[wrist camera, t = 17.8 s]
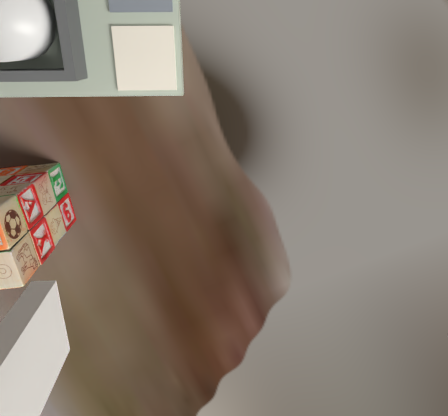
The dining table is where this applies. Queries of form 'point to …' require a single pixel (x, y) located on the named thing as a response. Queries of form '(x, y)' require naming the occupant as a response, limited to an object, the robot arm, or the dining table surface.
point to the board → (104, 52)
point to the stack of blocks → (31, 219)
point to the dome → (25, 29)
